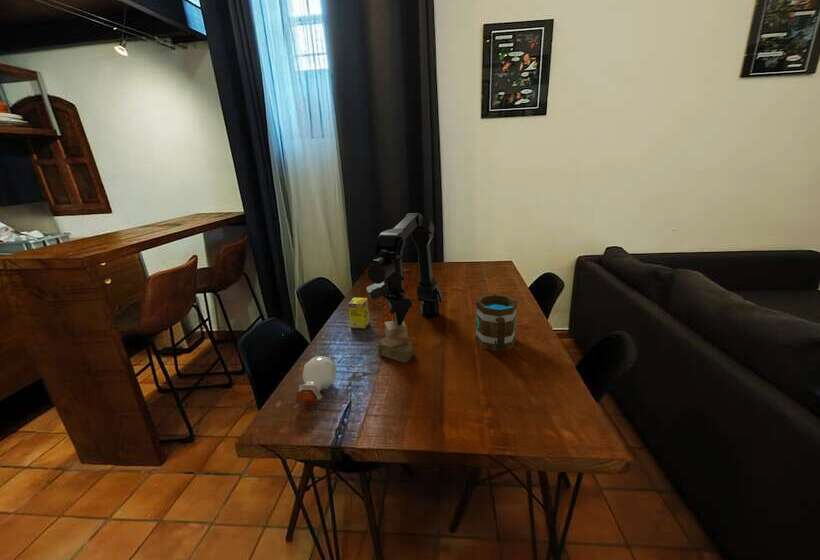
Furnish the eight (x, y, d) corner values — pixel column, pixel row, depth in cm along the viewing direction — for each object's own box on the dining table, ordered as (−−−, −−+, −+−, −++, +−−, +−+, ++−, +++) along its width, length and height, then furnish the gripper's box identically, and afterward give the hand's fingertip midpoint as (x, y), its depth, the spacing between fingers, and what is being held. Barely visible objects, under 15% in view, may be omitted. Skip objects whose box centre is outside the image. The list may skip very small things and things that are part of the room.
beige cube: (403, 335, 116) (402, 319, 114) (408, 343, 111) (407, 327, 109) (385, 338, 115) (384, 322, 113) (389, 347, 109) (388, 330, 107)
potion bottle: (333, 378, 105) (315, 418, 92) (304, 363, 104) (282, 401, 90) (346, 359, 101) (330, 398, 88) (317, 343, 100) (296, 379, 86)
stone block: (387, 347, 119) (386, 334, 117) (415, 355, 113) (415, 342, 111) (377, 355, 114) (376, 342, 113) (406, 364, 108) (405, 351, 107)
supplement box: (365, 330, 131) (362, 303, 128) (350, 329, 132) (347, 303, 129) (370, 323, 137) (367, 297, 133) (356, 322, 138) (353, 297, 134)
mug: (473, 331, 126) (474, 293, 121) (511, 332, 124) (513, 293, 119) (478, 362, 107) (479, 318, 102) (522, 362, 106) (526, 318, 101)
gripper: (362, 268, 112) (366, 311, 117) (372, 286, 95) (377, 336, 100) (395, 263, 115) (397, 306, 120) (411, 280, 98) (413, 330, 103)
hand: (396, 319), depth 111 cm, fingers open, 9 cm apart
